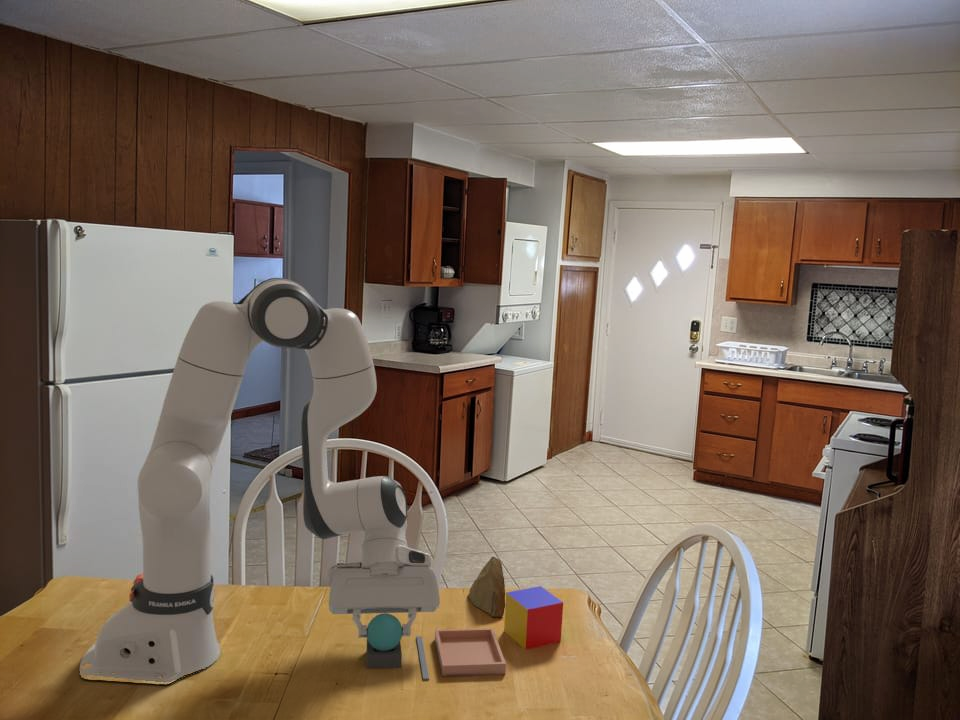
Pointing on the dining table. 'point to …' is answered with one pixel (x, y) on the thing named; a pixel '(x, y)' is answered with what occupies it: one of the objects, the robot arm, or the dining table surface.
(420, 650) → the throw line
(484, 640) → the tray
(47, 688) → the dining table surface
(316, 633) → the dining table surface
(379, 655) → the grey square frame
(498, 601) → the rock
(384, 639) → the ball
